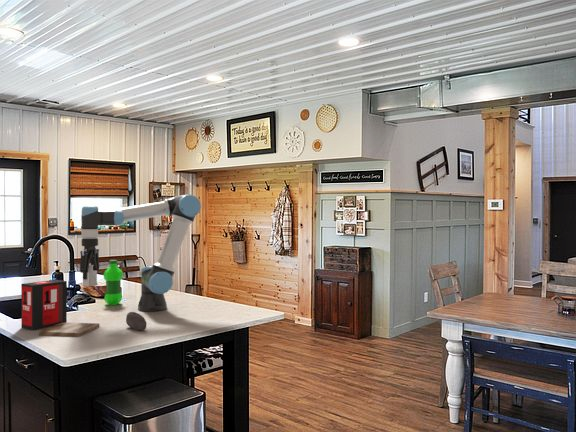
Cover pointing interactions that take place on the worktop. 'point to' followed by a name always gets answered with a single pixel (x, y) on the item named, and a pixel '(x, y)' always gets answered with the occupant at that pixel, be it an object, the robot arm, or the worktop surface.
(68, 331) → the walnut board
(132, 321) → the perforated stone tool
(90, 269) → the flask
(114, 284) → the plastic bottle
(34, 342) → the worktop surface
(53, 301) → the cleaning product box
